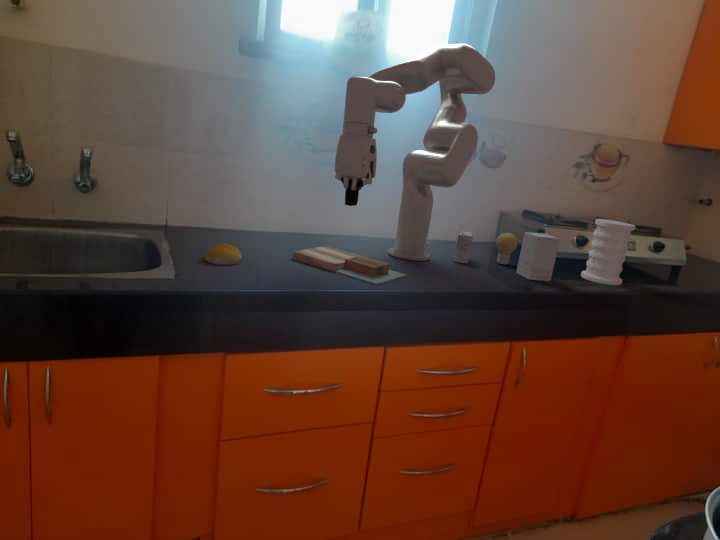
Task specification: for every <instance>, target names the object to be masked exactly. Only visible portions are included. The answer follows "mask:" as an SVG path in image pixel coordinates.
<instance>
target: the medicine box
mask: <svg viewBox="0 0 720 540" xmlns="http://www.w3.org/2000/svg"><path fill="white" fill-rule="evenodd" d="M457 233H458V234H457V237H456V244H455V251H454V257H453V258H454V260H453V262H454V263H460V264H465V265H469V261H470V255H471V250H472V243H473V232H470V231H462V230H461V231H458V232H457Z"/></svg>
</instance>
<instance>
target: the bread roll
mask: <svg viewBox="0 0 720 540" xmlns="http://www.w3.org/2000/svg"><path fill="white" fill-rule="evenodd" d="M242 255H243V254H242V253H241V251H240V250H239V248H237V247H236V246H234V245H232V244H230V243H217V244H215V245H214V246H212V247H211V248H209V250H208V251H206V253H205V255H204V260H205V261H206V262H207V261H208V263H210V264H213V265H219V266H220V265H221V266H231V265H236V264H239V263H240V262H241V260H242Z"/></svg>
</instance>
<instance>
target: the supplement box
mask: <svg viewBox="0 0 720 540" xmlns="http://www.w3.org/2000/svg"><path fill="white" fill-rule="evenodd" d="M560 240H561V239H560V238H558V237H556V236H552V235H551V234H547V233H543V232H542V233H541V232H530V231H528V232H526V231H524V234H523V239H522V244H521V248H520V253H519V259H518V262H517V267H516V271H515V272H516V274H517V275H519V276H522V277H523V278H525V279H527V280H528V281H529V280H532V281H543V282H551V281H552V275H553V272H554V267H555V262H556V258H557V253H558V250H559V245H560Z"/></svg>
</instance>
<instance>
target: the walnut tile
mask: <svg viewBox="0 0 720 540" xmlns="http://www.w3.org/2000/svg"><path fill="white" fill-rule="evenodd" d="M344 269H346V270H350V271H353V272H356V273H360V274H363V275H366V276H370V277H373V278H374V277H378V276H381V275H385V274H388V273H389V270H390V263H388V262H384V261H379V260H376V259H373V258H370V257H367V258H366V256H363V255H360V256H358V257H353V258H349V259H345V264H344Z"/></svg>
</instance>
